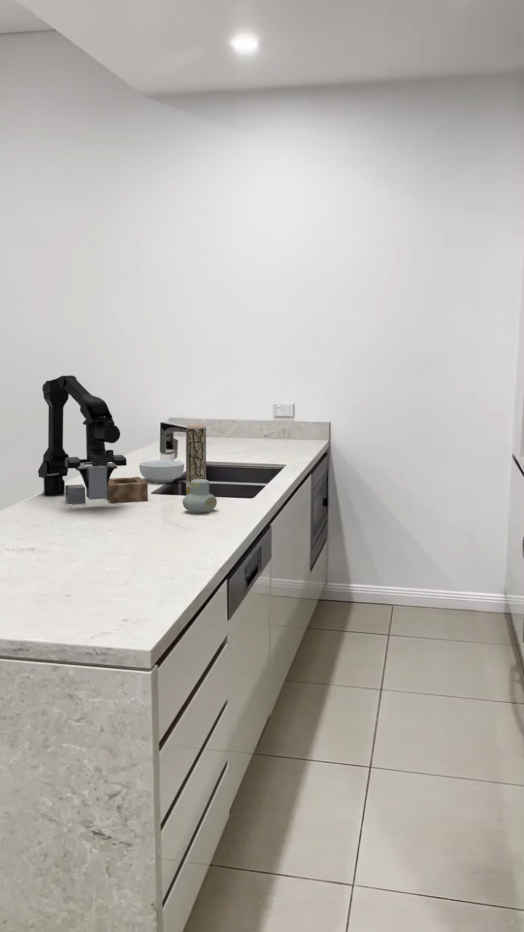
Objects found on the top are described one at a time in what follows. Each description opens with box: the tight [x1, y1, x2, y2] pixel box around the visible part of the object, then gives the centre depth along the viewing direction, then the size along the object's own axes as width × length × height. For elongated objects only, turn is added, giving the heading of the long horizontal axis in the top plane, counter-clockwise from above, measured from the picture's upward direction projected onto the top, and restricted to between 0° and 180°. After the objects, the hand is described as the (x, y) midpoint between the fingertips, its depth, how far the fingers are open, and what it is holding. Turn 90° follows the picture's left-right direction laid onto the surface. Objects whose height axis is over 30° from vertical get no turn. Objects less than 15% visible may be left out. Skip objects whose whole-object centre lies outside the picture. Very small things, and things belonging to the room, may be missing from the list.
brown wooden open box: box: [106, 476, 149, 504], centre depth 275 cm, size 12×12×6 cm
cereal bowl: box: [138, 459, 185, 484], centre depth 307 cm, size 17×17×7 cm
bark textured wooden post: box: [185, 424, 207, 496], centre depth 276 cm, size 7×7×25 cm
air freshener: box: [182, 479, 218, 514], centre depth 257 cm, size 11×8×10 cm
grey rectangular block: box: [85, 465, 107, 501], centre depth 259 cm, size 6×6×10 cm
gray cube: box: [64, 483, 86, 505], centre depth 268 cm, size 6×6×6 cm
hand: (96, 488), depth 259 cm, fingers closed on grey rectangular block, 6 cm apart
